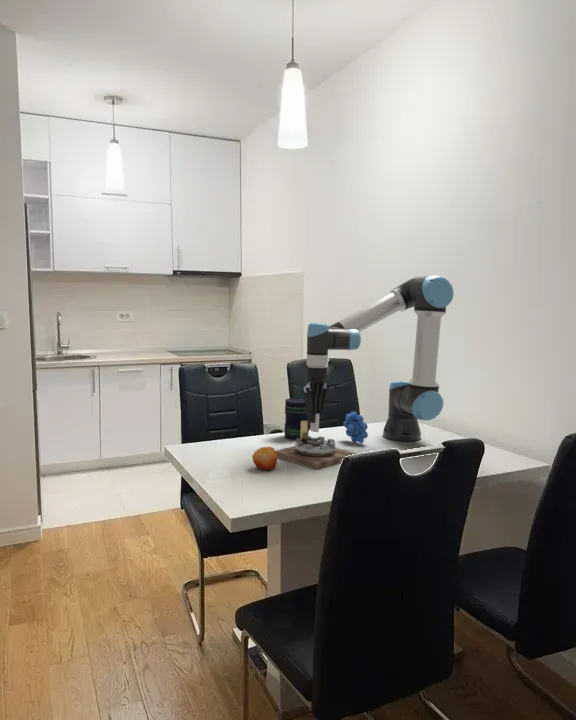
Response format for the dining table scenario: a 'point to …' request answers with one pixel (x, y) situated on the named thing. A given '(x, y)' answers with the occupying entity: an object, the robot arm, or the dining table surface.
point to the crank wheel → (313, 444)
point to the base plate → (313, 458)
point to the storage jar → (295, 417)
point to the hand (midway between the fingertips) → (314, 431)
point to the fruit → (265, 458)
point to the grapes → (355, 427)
